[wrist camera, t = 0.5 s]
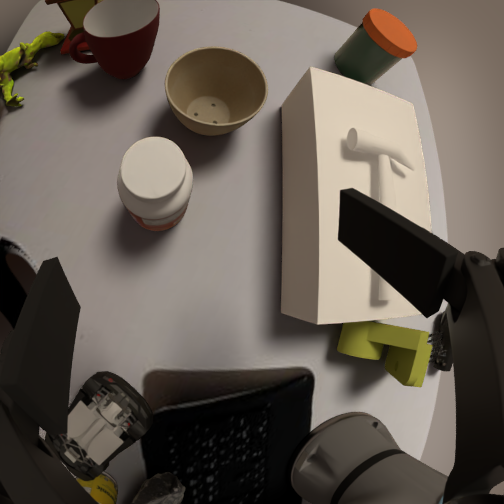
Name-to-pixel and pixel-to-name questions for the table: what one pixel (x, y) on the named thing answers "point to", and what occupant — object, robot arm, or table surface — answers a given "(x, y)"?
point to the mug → (118, 36)
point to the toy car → (101, 425)
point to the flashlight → (442, 348)
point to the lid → (389, 33)
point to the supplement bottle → (101, 488)
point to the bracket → (400, 350)
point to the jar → (363, 58)
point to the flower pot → (215, 89)
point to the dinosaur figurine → (22, 62)
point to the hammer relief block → (328, 194)
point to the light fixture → (74, 19)
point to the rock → (160, 490)
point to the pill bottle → (155, 183)
